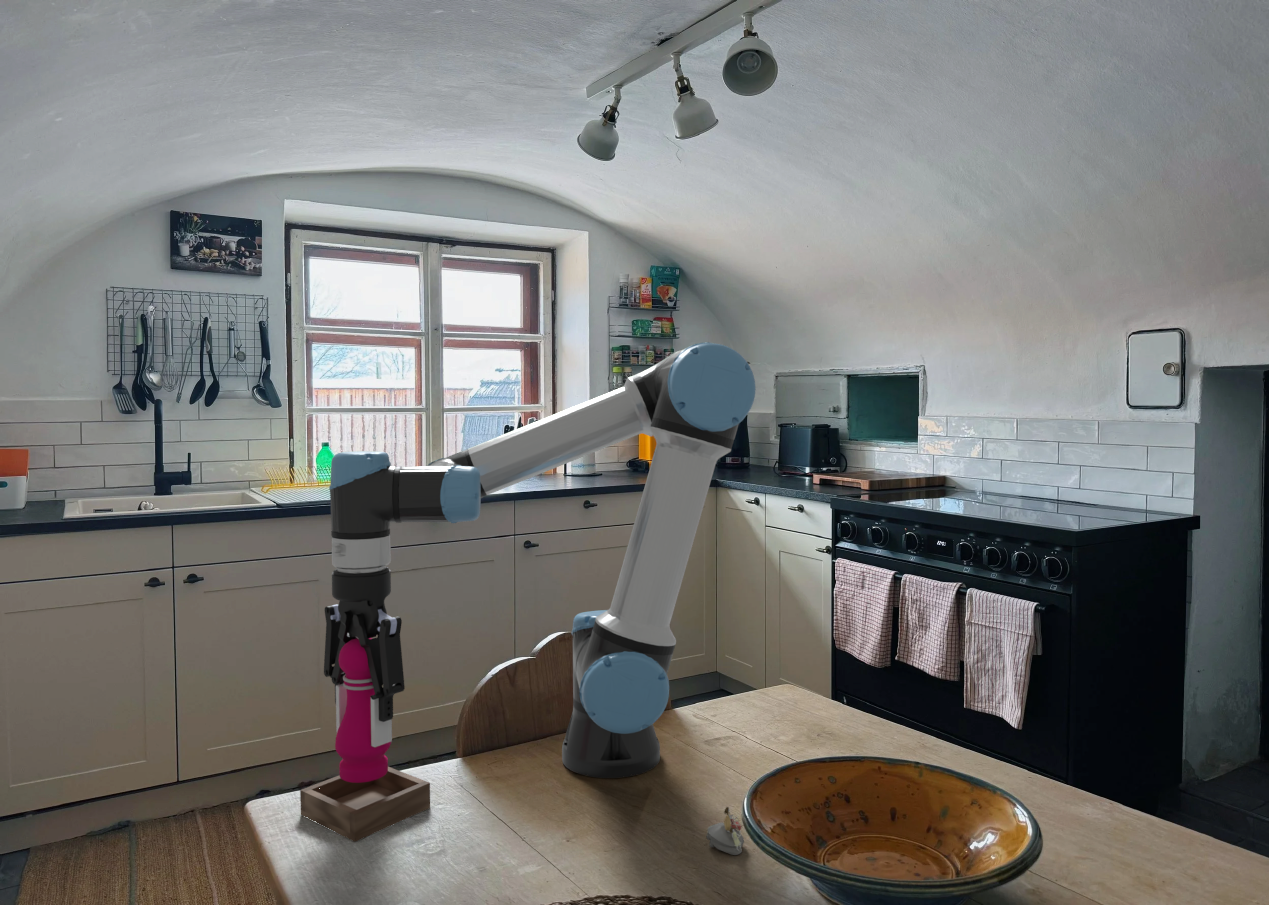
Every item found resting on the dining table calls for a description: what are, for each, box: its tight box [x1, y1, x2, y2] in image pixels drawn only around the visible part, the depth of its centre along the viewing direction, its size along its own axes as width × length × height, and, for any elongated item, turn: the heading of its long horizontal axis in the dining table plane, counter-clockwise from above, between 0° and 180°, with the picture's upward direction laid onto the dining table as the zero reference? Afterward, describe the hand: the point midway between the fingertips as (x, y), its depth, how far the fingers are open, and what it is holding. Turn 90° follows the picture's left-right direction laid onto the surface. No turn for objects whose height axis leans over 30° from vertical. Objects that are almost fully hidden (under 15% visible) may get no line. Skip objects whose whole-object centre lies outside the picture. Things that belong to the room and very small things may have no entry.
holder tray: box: [299, 766, 431, 843], centre depth 122 cm, size 12×12×4 cm
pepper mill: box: [334, 637, 392, 783], centre depth 121 cm, size 7×7×20 cm
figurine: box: [705, 806, 745, 856], centre depth 111 cm, size 5×4×6 cm
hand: (363, 736), depth 121 cm, fingers closed on pepper mill, 7 cm apart
